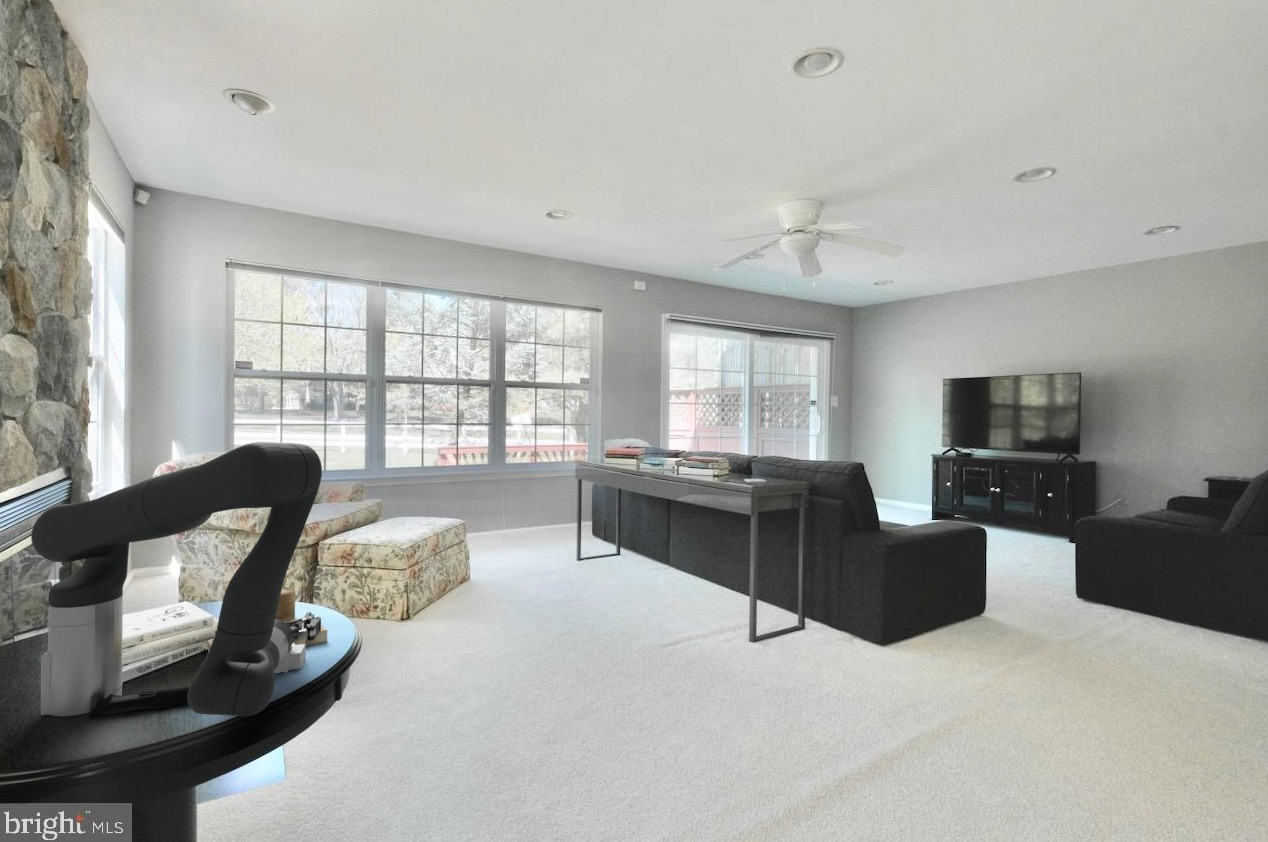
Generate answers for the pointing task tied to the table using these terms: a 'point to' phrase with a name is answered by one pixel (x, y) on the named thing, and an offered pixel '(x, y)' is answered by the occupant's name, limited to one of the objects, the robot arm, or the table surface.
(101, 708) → the electric trimmer
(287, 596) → the awl
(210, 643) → the board
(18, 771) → the table surface
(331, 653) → the table surface
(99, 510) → the robot arm
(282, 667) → the block
